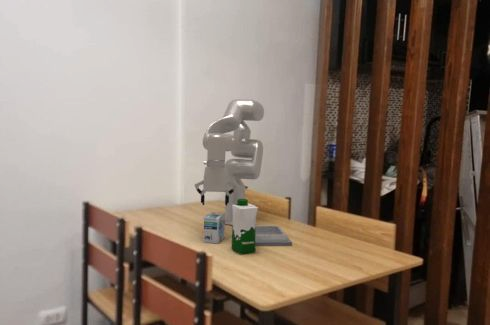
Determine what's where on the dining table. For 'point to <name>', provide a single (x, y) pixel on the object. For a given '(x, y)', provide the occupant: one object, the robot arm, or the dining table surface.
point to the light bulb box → (214, 227)
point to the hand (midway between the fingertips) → (214, 204)
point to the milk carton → (244, 227)
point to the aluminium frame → (273, 237)
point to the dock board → (272, 243)
